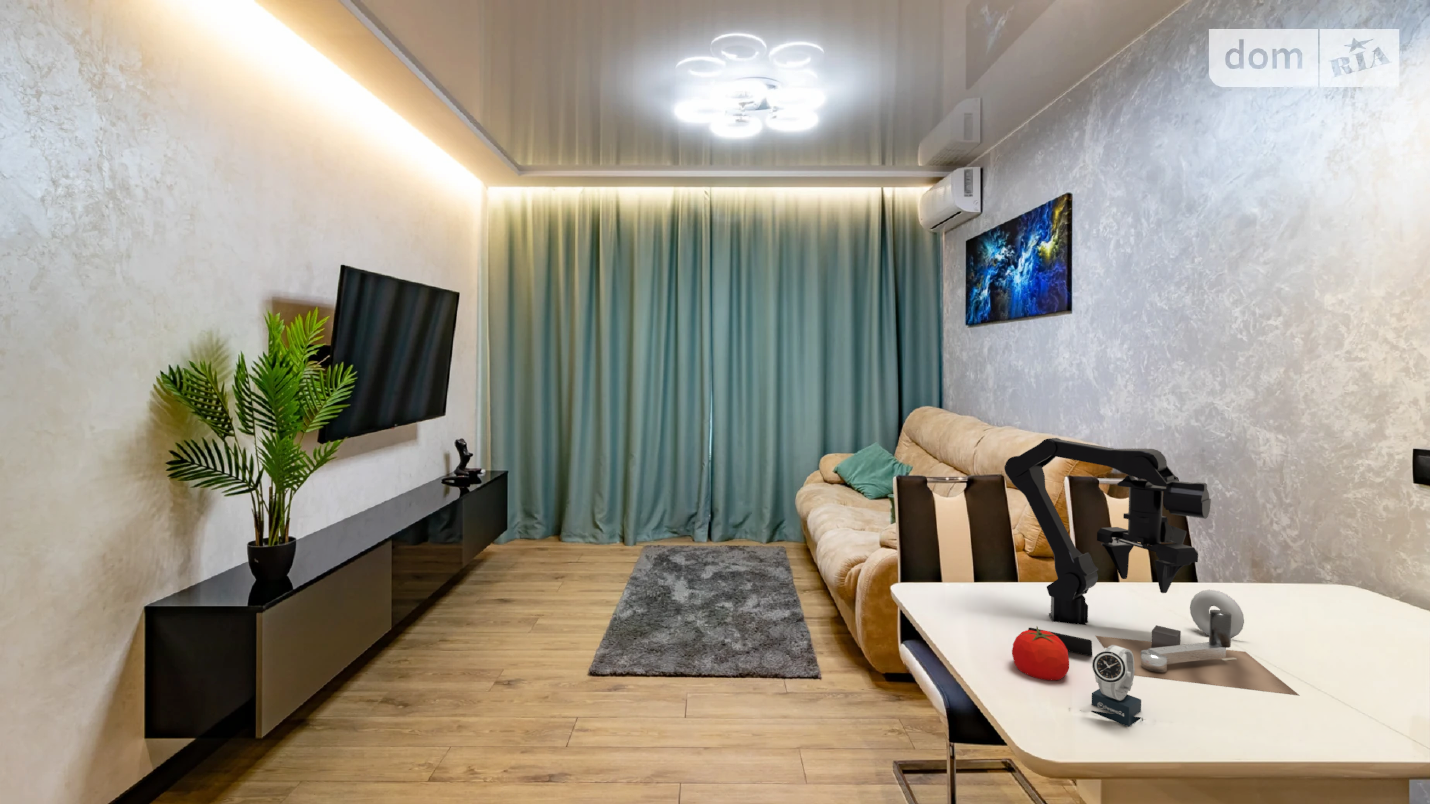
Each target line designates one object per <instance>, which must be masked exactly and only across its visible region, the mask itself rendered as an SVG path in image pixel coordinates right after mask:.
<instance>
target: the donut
mask: <svg viewBox="0 0 1430 804" xmlns="http://www.w3.org/2000/svg"><path fill="white" fill-rule="evenodd" d="M1211 607H1216V608H1218V610H1221V611H1225V612H1228V613H1230V614H1232V619H1231V639H1232V638H1234V637H1237V636H1238V635H1240V633H1241V632H1242V630H1243V629H1244V624H1245V619H1244V618H1245V616H1244V613H1243V610H1242V608H1241V606H1240V605H1239V604H1238V602H1237V601H1236V600H1235V599H1233V597H1231V596H1229V595H1228V594H1227V593H1225V592H1223V591H1220V590H1215V589H1205V590H1200V591H1199V592H1198V593H1196V594H1195V595H1194V596H1193V598H1192V599H1191V600H1190V606H1189V613H1190V616H1191V618H1192V621H1193V622H1194V623H1195V626H1196V627H1197V628H1198V629H1199V630H1200V631H1202V632H1203V634H1206V635H1207V636H1209V625H1210V610H1211Z"/></svg>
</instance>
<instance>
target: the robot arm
mask: <svg viewBox="0 0 1430 804" xmlns="http://www.w3.org/2000/svg"><path fill="white" fill-rule="evenodd" d="M1055 458H1061V459H1067V460H1073V461H1077V462H1083V463H1088V464H1094V465H1099V466H1104V467H1108V468H1111V469H1114V470H1116V471H1118V472H1119V473H1122V474H1125V476H1124V478H1123V479H1121V481H1119V482H1117V485H1116V486H1118V487H1122V488H1123V487H1124V488H1128V512H1127V513H1123V514H1122V515H1123V519H1126V520H1127V523H1128V524H1127V529H1126V528H1124V527H1123V528H1122V527H1119V526H1113V527H1111V526H1110V527H1109V526H1108V527H1100V528H1099V529H1098V530H1097V532H1096V541H1097V542H1101V543H1100V544H1101V546H1102V547H1104V549H1105V550H1106V552H1107V555H1109V557H1110V559H1111V561H1112V563H1113V565H1114V566H1115V568H1116V570H1117V572H1118V574H1119V576H1120V578H1121V580H1127V578H1128V575H1129V563H1130V562H1129V561H1130V560H1129V559H1130V553H1131V551H1132V549H1133V548H1134V547H1137V548H1141V549H1143V550H1148V551H1151V552H1154V553H1155V555H1156V557H1157V558H1158V559H1155V560H1154V565H1155V570H1156V577H1157V583H1158V588H1159V592H1160V593H1161V594H1166V593H1168V591H1169V588H1170V587H1171V585H1172V582H1173V581H1174V580H1175V579H1174V578H1175V577H1176V575H1177V573H1178V572H1179V570H1180V569H1182V568H1183V567H1184V566H1190V565H1191V564H1192V563H1193V564H1194V563H1199V552H1198V550H1197V549H1196V548H1195V547H1193V546H1190V545H1186V544H1184V541H1185V538H1186V536H1187V530H1184V529H1181V528H1179V527H1176V526H1173V525H1171V524H1169V519H1168V516H1164V515H1163V508H1164V509H1165V511H1168V512H1169V514H1171V515H1176V516H1183V517H1191V518H1198V519H1205V520H1206V519H1207V518H1208V517H1209V514H1210V511H1211V510H1210V509H1211V501H1212V500H1211V498H1210V494H1209V490H1208V483H1206V482H1188V481H1180V480H1179V479H1178V477H1177V476H1176V475H1175V474H1174V472H1173V470H1171V469H1170V467H1169V466H1168V463H1167V459H1166V456H1165V455H1164V454H1163V453H1162V452H1161V451H1160V450H1158V449H1154V448H1113V447H1107V446H1100V445H1095V444H1091V443H1090V444H1089V443H1084V442H1083V443H1082V442H1077V441H1071V440H1065V439H1061V438H1059V437H1051V438H1046V439H1044V440H1042V441H1041V442H1040V443H1038V444H1037V445H1035V446H1033V447H1032V448H1031V449H1028V450H1027V451H1025V452H1023V453H1022V454H1019V455H1015V456H1011V457H1009V458H1008V459H1007V460H1006V462H1005V465H1004V472H1005V474H1006V477H1007V478H1008V479H1009V480H1010V482H1011V483H1012V485H1013V486H1014V487H1015V488H1016V489H1017V490H1019V492H1021V493H1022V494H1023V495H1024V496H1025V499H1026V501H1027V503H1028V505H1029V506H1030V509H1031V511H1032V512H1033V515H1034V517H1035V519H1036V521H1037V522H1038V524H1039V527H1040V529H1041V531H1042V533H1043V535H1044V537H1045V539H1046V541H1047V543H1048V545H1049V547H1050V549H1051V551H1052V553H1053V557H1054V559H1053V561H1054V570H1055V573H1056V577H1057V579H1056V580H1054V581H1053V582H1051V583H1050V584H1048V585H1046V590H1047V593H1048V596H1050V612H1048V617H1049V618H1050V620H1051V621H1052V622H1053V623H1062V624H1071V625H1079V626H1081V625H1082V626H1087V624H1088V622H1089V604H1087V602H1086V597H1085V596H1084V595H1086V594H1087V593H1088V592H1089V589H1092V588H1093V587H1094V586H1095V585H1096V584H1097V581H1098V579H1099V578H1098V577H1099V575H1098V572H1097V571H1099V568H1098V567H1097V566H1096V565H1095V563H1094V561H1093V559H1092V556H1091V553H1090V552H1085V553H1084V554H1083V553H1082V552H1081V551H1080V550H1079V549H1078V548H1076V546H1075V544H1074V542H1073V540H1072V538H1071V536H1070V534H1069V532H1068V529H1067V528H1066V526H1065V524H1064V522H1063V521H1062V519H1061V517H1060V515H1059V512H1058V510H1057V507H1055V504H1054V503H1053V501H1052V499H1051V497H1050V494H1049V492H1048V491H1047V488H1046V477H1045V476H1046V475H1045V473H1044V469H1043V468H1044V467H1045V466H1047V465H1048V464H1050V463H1051V462H1052V461H1053V460H1054V459H1055ZM1162 543H1163V544H1162Z"/></svg>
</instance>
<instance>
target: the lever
mask: <svg viewBox="0 0 1430 804" xmlns="http://www.w3.org/2000/svg"><path fill="white" fill-rule="evenodd" d="M1209 613H1210V625H1209V635H1208V641H1207V642H1197V643H1195V642H1194V643H1187V644H1180V645H1177V646H1167V647H1158V648H1149V649H1148V650H1142V651H1141V666H1142V667H1143V668H1145V669H1147V670H1150V671H1154V672H1166V671H1167V664H1171V663H1180V662H1189V661H1198V660H1206V659H1215V658H1224V657H1226V650H1227V649H1228V648H1231V646H1232V640H1231V639H1232V638H1231V619H1232V614H1230V613H1228V612H1225V611H1221V610H1220V609H1209Z"/></svg>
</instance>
